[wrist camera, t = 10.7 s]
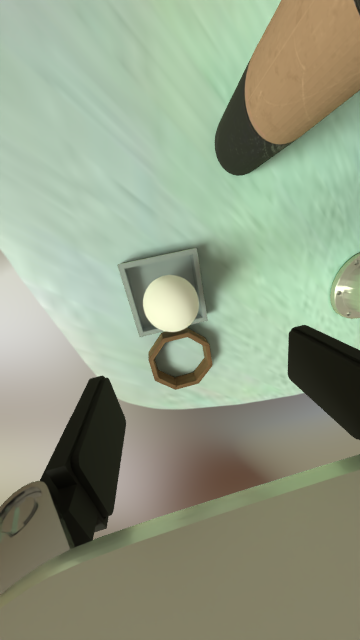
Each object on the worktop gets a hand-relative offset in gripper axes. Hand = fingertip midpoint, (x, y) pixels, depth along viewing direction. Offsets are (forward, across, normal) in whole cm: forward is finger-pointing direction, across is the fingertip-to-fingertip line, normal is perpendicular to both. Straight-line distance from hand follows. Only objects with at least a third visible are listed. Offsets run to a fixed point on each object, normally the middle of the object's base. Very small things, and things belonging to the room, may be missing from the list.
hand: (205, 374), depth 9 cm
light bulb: (+21, 0, 0) cm, 21 cm away
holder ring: (+22, 0, +12) cm, 25 cm away
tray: (+22, 0, 0) cm, 22 cm away
